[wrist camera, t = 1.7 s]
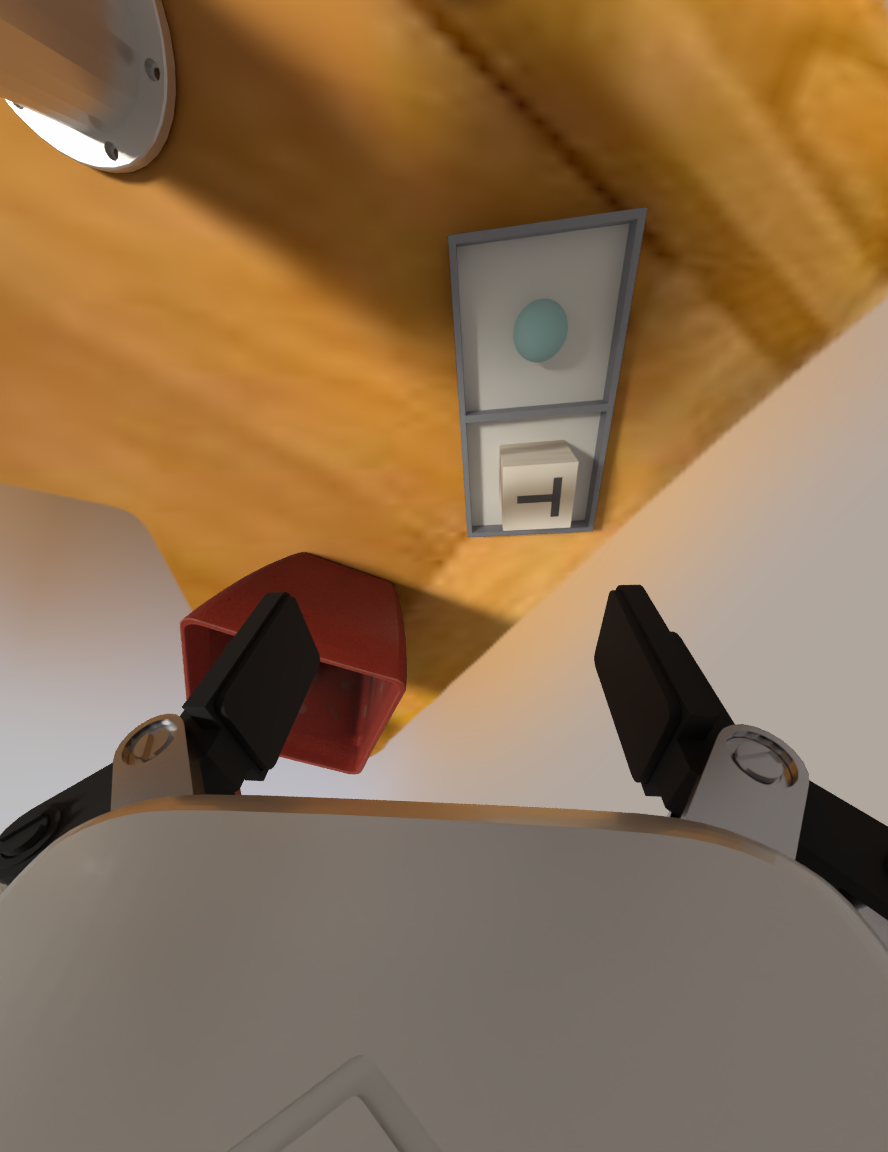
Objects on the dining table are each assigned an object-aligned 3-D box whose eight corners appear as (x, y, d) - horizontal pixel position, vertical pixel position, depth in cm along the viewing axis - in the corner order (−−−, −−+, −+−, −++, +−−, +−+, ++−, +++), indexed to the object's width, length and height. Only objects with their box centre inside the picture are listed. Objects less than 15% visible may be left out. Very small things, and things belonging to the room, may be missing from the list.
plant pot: (273, 516, 41) (175, 617, 28) (428, 571, 45) (409, 685, 31) (261, 625, 52) (187, 735, 39) (386, 662, 56) (358, 776, 42)
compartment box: (449, 239, 26) (447, 235, 25) (636, 213, 25) (647, 206, 23) (467, 528, 40) (467, 537, 39) (587, 522, 39) (592, 531, 37)
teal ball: (511, 302, 28) (516, 301, 25) (564, 295, 27) (576, 294, 24) (510, 361, 30) (515, 368, 27) (559, 356, 30) (569, 362, 27)
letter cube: (499, 444, 34) (503, 467, 30) (563, 439, 34) (579, 461, 29) (499, 502, 38) (503, 530, 33) (558, 499, 37) (570, 527, 32)
